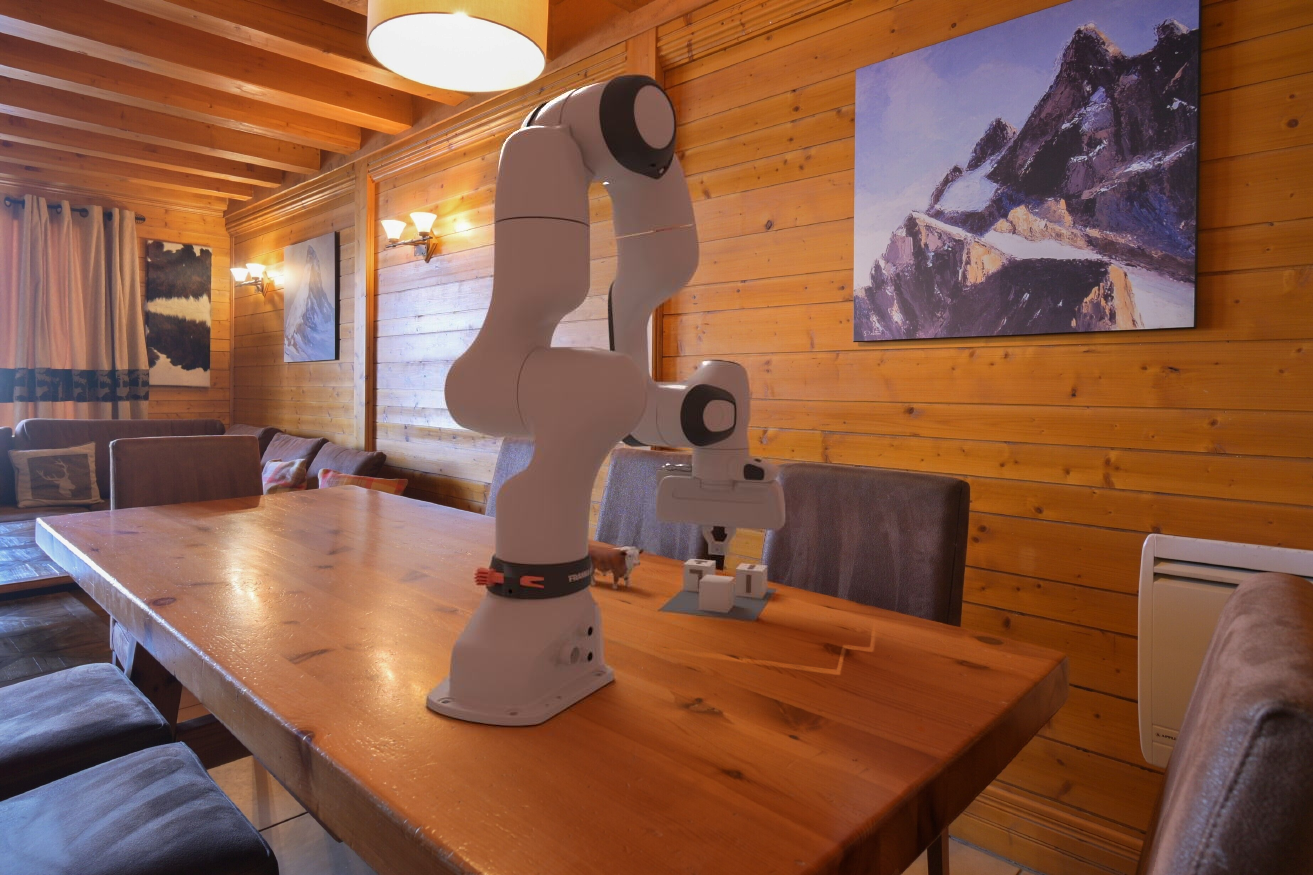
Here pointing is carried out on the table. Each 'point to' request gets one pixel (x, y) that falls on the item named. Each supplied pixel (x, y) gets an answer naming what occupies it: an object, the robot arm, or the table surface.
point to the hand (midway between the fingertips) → (718, 554)
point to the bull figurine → (614, 562)
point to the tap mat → (740, 611)
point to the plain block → (716, 593)
